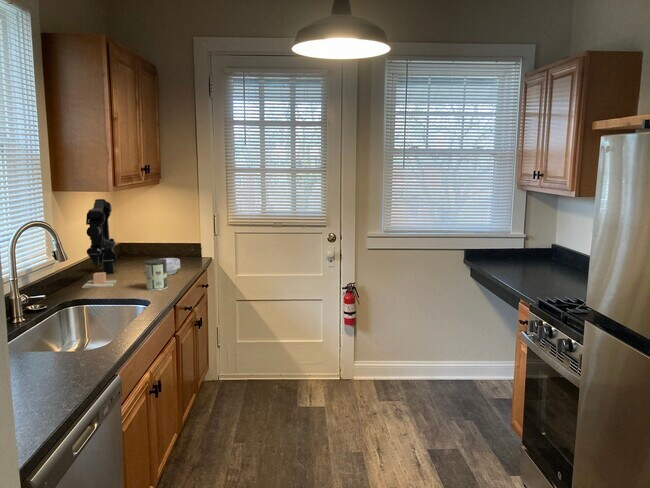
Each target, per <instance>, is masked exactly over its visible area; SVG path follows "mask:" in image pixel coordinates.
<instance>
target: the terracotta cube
mask: <svg viewBox="0 0 650 488" xmlns="http://www.w3.org/2000/svg"><path fill="white" fill-rule="evenodd" d="M92 277H93V278H92V280H94V284H105V283H106V280H107V273H106V272H103V271H102V272H95V273H93V276H92Z"/></svg>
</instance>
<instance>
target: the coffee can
mask: <svg viewBox="0 0 650 488" xmlns="http://www.w3.org/2000/svg"><path fill="white" fill-rule="evenodd" d="M144 264H145V268H144V269H145V282H146V290H147V291H152V292H153V291H154V292H155V291H162V290H166V289H168V275H167V269H166V260H164V259H163V258H155V259H148V260H145V261H144Z"/></svg>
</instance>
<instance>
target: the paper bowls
mask: <svg viewBox="0 0 650 488" xmlns="http://www.w3.org/2000/svg"><path fill="white" fill-rule="evenodd" d="M162 259H164V260H166V269H167V276H170V275H174V274H176V273H177V272H178V269H181V259H179V258H175V257H165V258H162Z"/></svg>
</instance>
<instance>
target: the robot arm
mask: <svg viewBox="0 0 650 488" xmlns="http://www.w3.org/2000/svg"><path fill="white" fill-rule="evenodd" d="M112 211H113V210H112V205H111V203H110V202H108V201H107V200H106V199H104V198H97V199H95V200H94V203H93V207H92V208H90V209H88V211H87V212H86V217H85V218H86V220H85V221H86V222H85V225H87V226H88V225H89V226H88V228H87V229H86V235H87V236H88V237H89V240H90V247H88V248H87V250H86V254H87V256H88V257H89V258H90V260H91V261H92V263H93V266H95V267H96V268H97V267H99V264H102V272H106V274H114V273H115V272H116V270H115V268H114V267H115V266H114V263H116V262H118V259H117V254H116V252H115V251H114V248H115V245H116V241H115V239H114V238H112V237H111V238H110V227H109V218H110V216H111V213H112Z"/></svg>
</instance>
